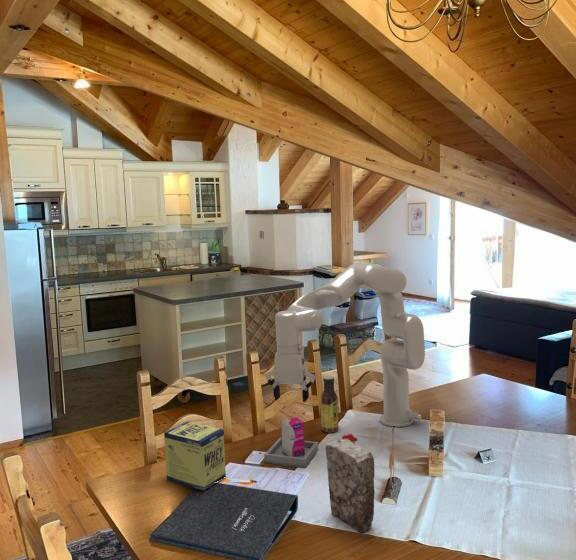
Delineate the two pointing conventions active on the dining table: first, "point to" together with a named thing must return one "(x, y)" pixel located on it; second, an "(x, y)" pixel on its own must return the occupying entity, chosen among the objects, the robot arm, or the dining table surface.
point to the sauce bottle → (329, 406)
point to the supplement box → (293, 437)
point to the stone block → (351, 483)
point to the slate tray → (278, 457)
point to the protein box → (195, 454)
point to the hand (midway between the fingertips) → (291, 399)
